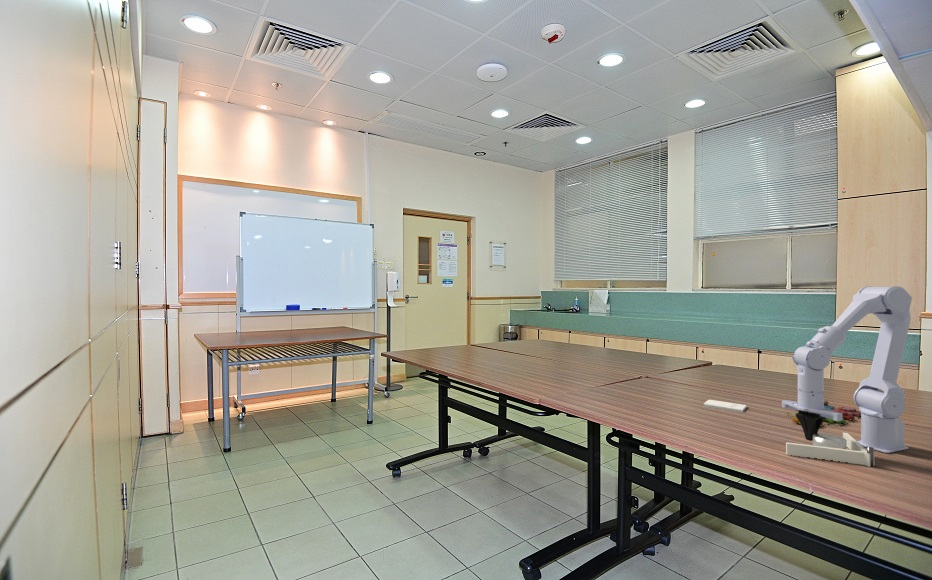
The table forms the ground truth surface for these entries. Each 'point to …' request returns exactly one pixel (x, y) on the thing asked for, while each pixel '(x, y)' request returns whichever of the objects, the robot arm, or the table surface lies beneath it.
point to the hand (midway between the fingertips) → (810, 439)
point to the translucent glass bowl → (829, 441)
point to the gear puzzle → (846, 411)
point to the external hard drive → (725, 405)
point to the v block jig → (835, 452)
